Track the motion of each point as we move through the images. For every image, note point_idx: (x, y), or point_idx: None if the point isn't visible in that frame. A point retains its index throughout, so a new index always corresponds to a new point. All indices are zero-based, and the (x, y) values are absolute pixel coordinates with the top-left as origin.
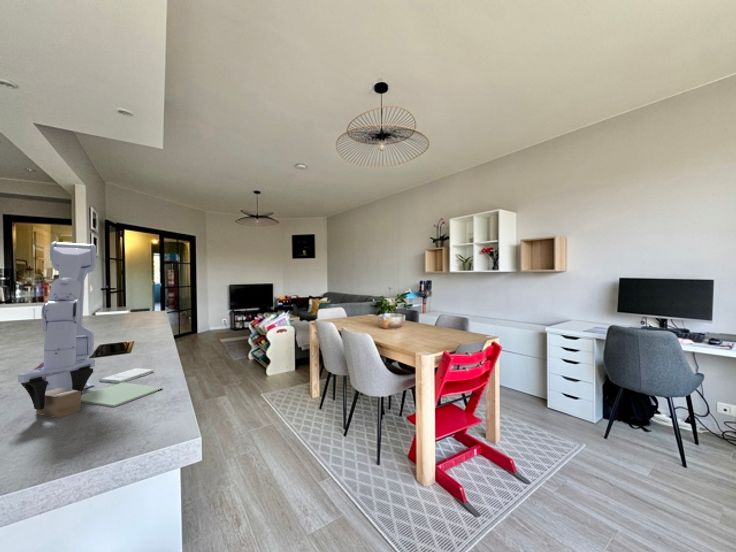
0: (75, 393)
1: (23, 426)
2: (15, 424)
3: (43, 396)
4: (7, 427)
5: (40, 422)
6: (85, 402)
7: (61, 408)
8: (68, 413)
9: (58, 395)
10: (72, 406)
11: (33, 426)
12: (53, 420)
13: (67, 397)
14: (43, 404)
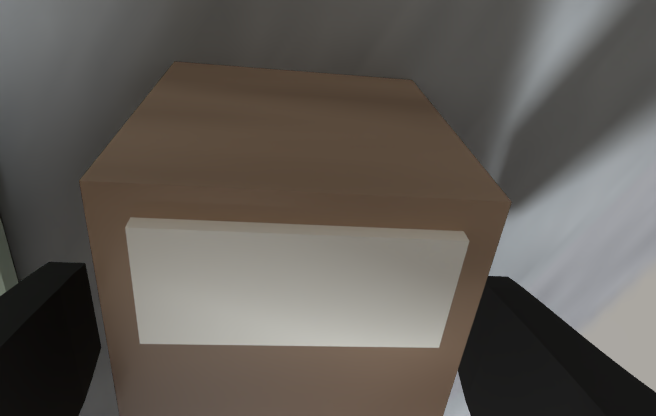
0: (203, 179)
1: (619, 188)
2: (570, 290)
3: (603, 393)
4: (626, 283)
5: (534, 137)
6: (7, 246)
7: (411, 110)
8: (312, 75)
9: (456, 288)
10: (266, 95)
11: (630, 96)
12: (483, 56)
13: (353, 171)
14: (520, 303)
